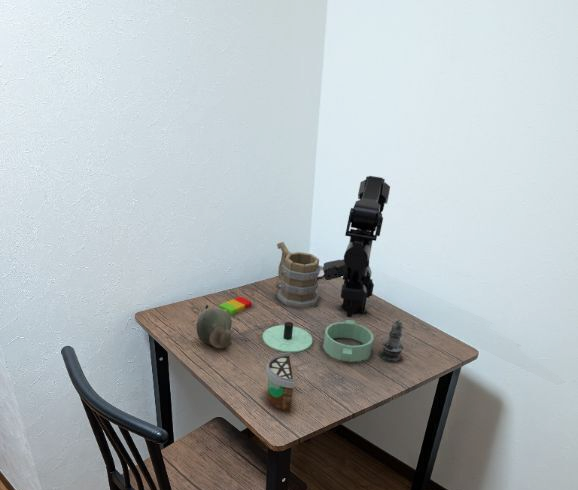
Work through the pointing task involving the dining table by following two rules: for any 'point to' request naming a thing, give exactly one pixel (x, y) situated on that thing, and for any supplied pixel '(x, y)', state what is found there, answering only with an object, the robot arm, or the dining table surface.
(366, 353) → the pot
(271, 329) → the pot lid
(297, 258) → the tankard
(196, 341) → the dining table surface
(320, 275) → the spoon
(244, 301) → the popsicle
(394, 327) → the dark grey tall piece
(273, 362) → the food container
